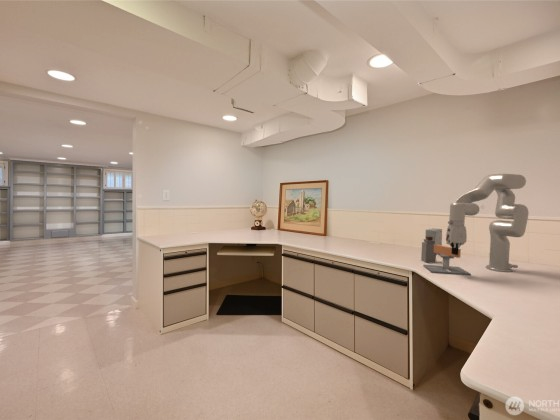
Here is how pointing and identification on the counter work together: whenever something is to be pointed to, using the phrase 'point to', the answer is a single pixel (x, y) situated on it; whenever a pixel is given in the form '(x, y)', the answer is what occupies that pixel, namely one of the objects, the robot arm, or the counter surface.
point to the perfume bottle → (428, 250)
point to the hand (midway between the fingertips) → (454, 254)
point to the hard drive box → (435, 235)
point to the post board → (453, 270)
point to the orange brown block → (445, 251)
